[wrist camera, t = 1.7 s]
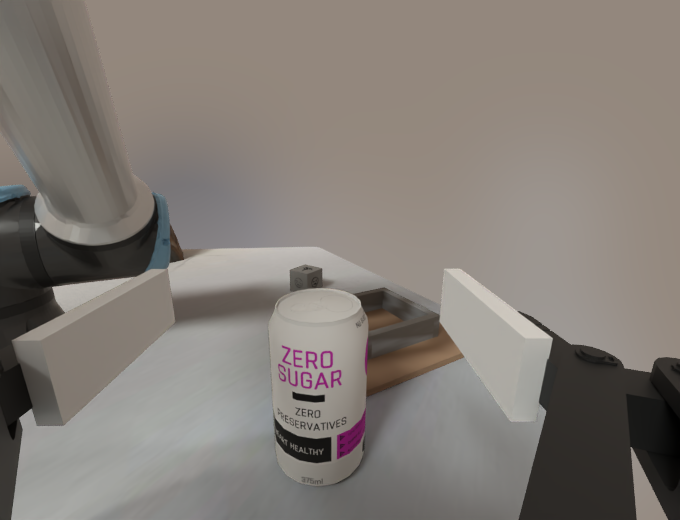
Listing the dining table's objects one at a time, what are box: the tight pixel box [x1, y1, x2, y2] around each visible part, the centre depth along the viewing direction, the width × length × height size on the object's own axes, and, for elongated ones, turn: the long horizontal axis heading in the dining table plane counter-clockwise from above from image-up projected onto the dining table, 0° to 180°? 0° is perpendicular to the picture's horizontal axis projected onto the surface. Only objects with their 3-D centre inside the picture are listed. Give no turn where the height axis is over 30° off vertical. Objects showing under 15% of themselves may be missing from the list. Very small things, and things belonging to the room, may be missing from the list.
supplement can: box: [268, 288, 368, 487], centre depth 28 cm, size 8×8×15 cm
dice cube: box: [290, 265, 322, 292], centre depth 70 cm, size 5×5×5 cm
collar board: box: [352, 288, 464, 397], centre depth 51 cm, size 24×24×5 cm
